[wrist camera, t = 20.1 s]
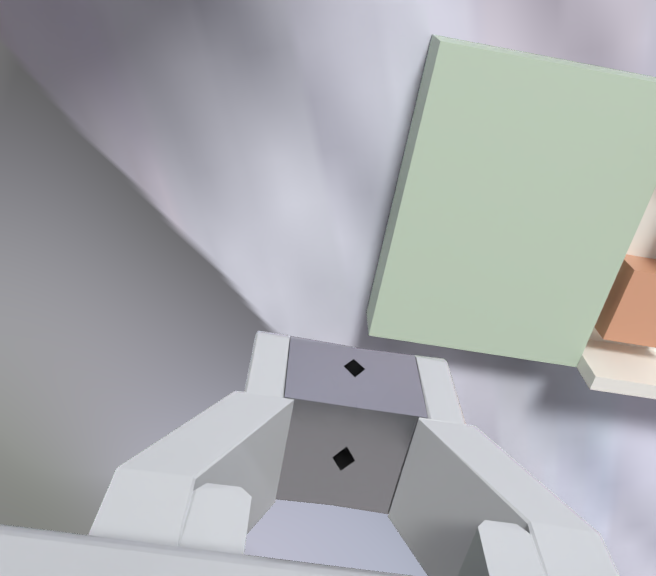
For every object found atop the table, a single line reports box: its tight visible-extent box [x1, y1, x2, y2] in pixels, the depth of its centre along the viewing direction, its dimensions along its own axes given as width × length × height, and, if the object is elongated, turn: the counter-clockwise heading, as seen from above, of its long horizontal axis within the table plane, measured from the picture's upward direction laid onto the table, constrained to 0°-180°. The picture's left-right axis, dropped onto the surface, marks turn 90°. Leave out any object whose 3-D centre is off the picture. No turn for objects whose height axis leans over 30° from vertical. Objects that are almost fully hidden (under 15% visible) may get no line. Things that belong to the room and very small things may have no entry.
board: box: [366, 35, 656, 367], centre depth 38 cm, size 18×14×3 cm
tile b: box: [594, 254, 656, 348], centre depth 40 cm, size 5×5×2 cm
